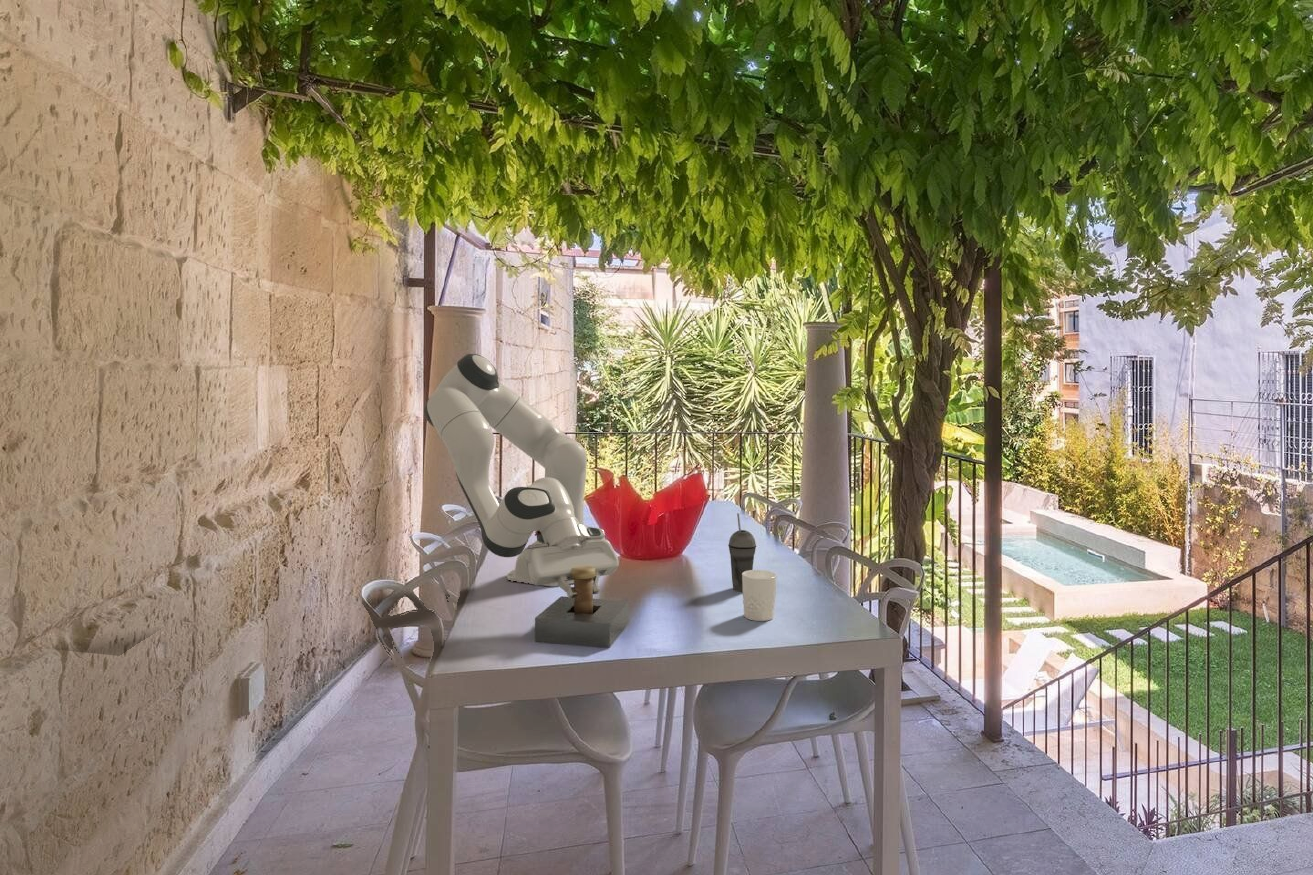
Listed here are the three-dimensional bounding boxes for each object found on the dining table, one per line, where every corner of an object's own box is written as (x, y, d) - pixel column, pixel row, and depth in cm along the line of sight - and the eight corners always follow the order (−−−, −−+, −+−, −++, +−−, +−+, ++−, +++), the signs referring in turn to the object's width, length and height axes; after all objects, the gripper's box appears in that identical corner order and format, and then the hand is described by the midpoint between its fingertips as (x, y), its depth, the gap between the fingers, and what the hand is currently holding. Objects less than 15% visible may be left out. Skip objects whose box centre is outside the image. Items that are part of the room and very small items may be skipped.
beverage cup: (754, 593, 186) (755, 516, 184) (726, 592, 187) (727, 515, 186) (756, 586, 193) (757, 511, 192) (729, 584, 194) (730, 510, 193)
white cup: (738, 611, 171) (739, 570, 170) (771, 611, 172) (772, 569, 171) (745, 622, 163) (745, 578, 162) (779, 621, 164) (780, 578, 163)
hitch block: (535, 641, 150) (534, 617, 150) (561, 617, 166) (561, 596, 165) (609, 647, 147) (609, 623, 147) (629, 622, 162) (629, 600, 162)
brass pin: (568, 626, 154) (568, 571, 153) (576, 619, 159) (575, 565, 158) (591, 628, 153) (591, 572, 152) (597, 621, 158) (598, 566, 157)
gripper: (525, 537, 155) (543, 594, 148) (609, 528, 166) (630, 580, 158) (517, 554, 159) (535, 609, 152) (600, 544, 170) (620, 595, 163)
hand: (584, 594), depth 155 cm, fingers closed on brass pin, 4 cm apart
